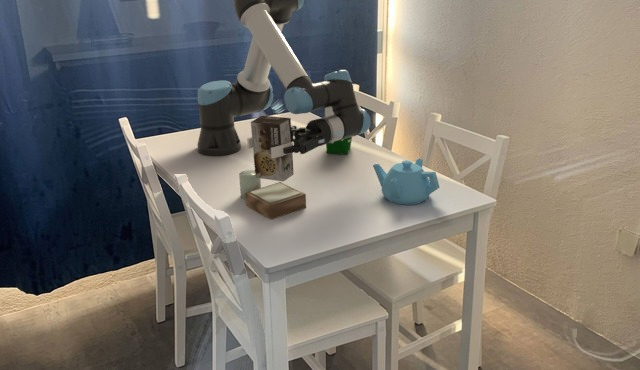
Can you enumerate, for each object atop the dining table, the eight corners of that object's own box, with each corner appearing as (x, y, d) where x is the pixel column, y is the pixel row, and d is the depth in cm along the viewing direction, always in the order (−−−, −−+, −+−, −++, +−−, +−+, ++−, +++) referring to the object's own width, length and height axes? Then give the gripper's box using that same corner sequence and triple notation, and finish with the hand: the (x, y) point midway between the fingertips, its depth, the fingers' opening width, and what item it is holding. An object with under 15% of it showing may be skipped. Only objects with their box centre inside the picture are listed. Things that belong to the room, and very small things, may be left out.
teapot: (388, 210, 173) (389, 173, 169) (371, 190, 187) (372, 155, 183) (440, 204, 177) (442, 168, 172) (420, 184, 190) (421, 150, 186)
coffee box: (294, 174, 174) (291, 117, 168) (283, 182, 169) (280, 124, 163) (265, 170, 178) (262, 114, 172) (254, 178, 173) (249, 120, 167)
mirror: (246, 205, 178) (245, 191, 176) (280, 194, 185) (280, 181, 183) (270, 219, 169) (269, 204, 168) (306, 207, 176) (305, 193, 175)
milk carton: (328, 146, 225) (327, 90, 217) (353, 147, 223) (353, 91, 216) (323, 154, 217) (322, 97, 209) (349, 155, 215) (349, 98, 208)
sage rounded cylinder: (236, 195, 185) (235, 173, 182) (254, 190, 188) (252, 168, 186) (248, 202, 181) (246, 179, 178) (265, 196, 184) (264, 174, 181)
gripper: (351, 152, 174) (286, 172, 161) (300, 134, 190) (237, 151, 178) (350, 126, 171) (284, 144, 158) (299, 110, 188) (235, 125, 175)
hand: (259, 148), depth 168 cm, fingers closed on coffee box, 10 cm apart
